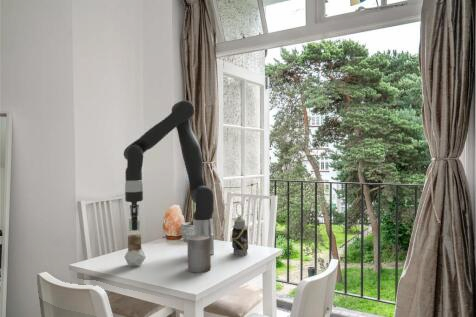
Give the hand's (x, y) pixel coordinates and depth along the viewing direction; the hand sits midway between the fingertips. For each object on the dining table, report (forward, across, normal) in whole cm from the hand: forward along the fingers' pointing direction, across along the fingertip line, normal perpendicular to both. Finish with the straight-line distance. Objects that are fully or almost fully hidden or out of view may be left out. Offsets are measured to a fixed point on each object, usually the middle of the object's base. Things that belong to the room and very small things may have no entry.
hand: (134, 228), depth 156 cm
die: (+17, 0, 0) cm, 17 cm away
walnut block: (+9, 0, 0) cm, 9 cm away
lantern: (+16, +2, -49) cm, 52 cm away
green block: (0, 0, 0) cm, 0 cm away
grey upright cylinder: (+16, -15, -26) cm, 34 cm away
